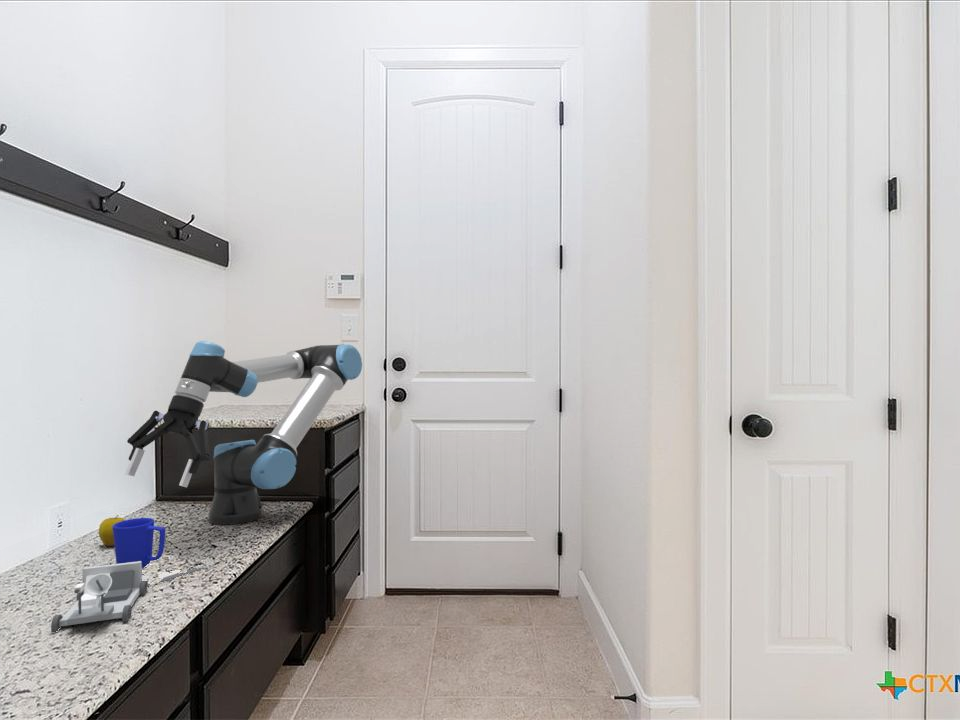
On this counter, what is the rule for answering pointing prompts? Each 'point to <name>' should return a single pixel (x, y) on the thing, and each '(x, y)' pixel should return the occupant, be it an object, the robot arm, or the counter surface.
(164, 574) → the label panel
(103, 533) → the apple
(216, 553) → the counter surface
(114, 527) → the mug
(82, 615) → the toy car
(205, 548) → the counter surface
